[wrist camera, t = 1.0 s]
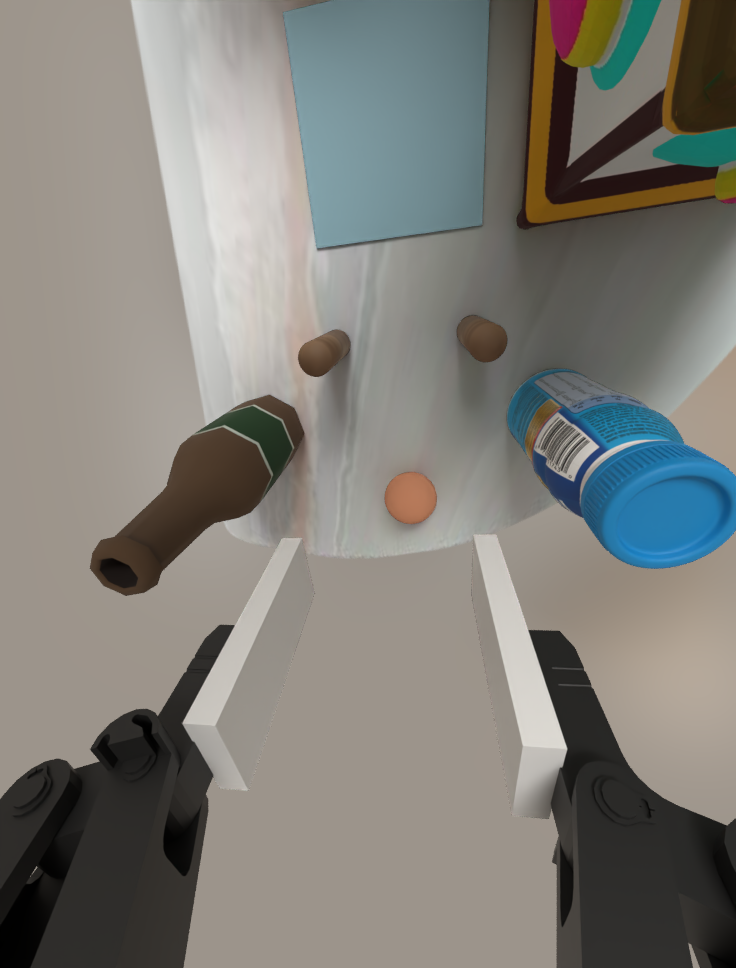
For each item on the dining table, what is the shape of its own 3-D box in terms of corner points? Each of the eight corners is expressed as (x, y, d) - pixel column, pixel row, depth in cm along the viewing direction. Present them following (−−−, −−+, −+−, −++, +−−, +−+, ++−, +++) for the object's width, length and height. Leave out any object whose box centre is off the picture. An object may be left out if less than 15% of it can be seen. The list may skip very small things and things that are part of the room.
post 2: (456, 316, 33) (469, 325, 25) (486, 313, 33) (508, 321, 25) (456, 347, 34) (468, 363, 27) (485, 344, 34) (506, 360, 26)
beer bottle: (240, 454, 43) (69, 614, 22) (235, 388, 39) (22, 503, 18) (305, 463, 42) (195, 636, 21) (306, 397, 38) (174, 526, 17)
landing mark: (283, 14, 26) (282, 12, 25) (490, -37, 24) (490, -39, 23) (317, 248, 32) (316, 248, 32) (481, 225, 30) (482, 224, 30)
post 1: (322, 331, 35) (295, 342, 27) (348, 328, 35) (328, 339, 27) (326, 359, 36) (301, 378, 28) (352, 356, 36) (334, 375, 28)
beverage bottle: (580, 348, 33) (763, 413, 16) (605, 426, 36) (781, 553, 19) (491, 392, 36) (562, 489, 19) (521, 461, 39) (606, 601, 22)
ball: (384, 464, 41) (380, 488, 36) (435, 462, 40) (437, 486, 35) (388, 507, 44) (385, 534, 39) (435, 505, 43) (438, 533, 38)
